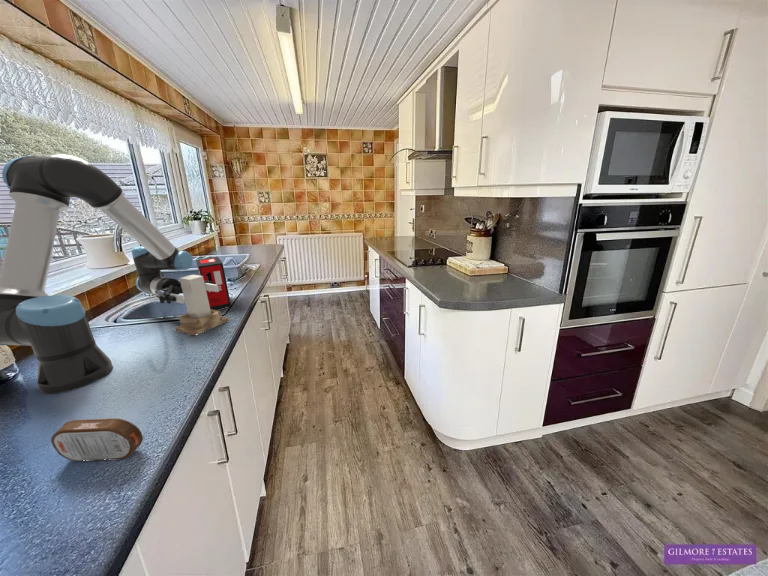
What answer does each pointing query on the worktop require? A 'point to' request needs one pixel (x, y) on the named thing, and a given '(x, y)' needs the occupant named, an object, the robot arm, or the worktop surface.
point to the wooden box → (200, 323)
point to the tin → (97, 439)
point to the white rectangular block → (195, 296)
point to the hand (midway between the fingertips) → (200, 293)
